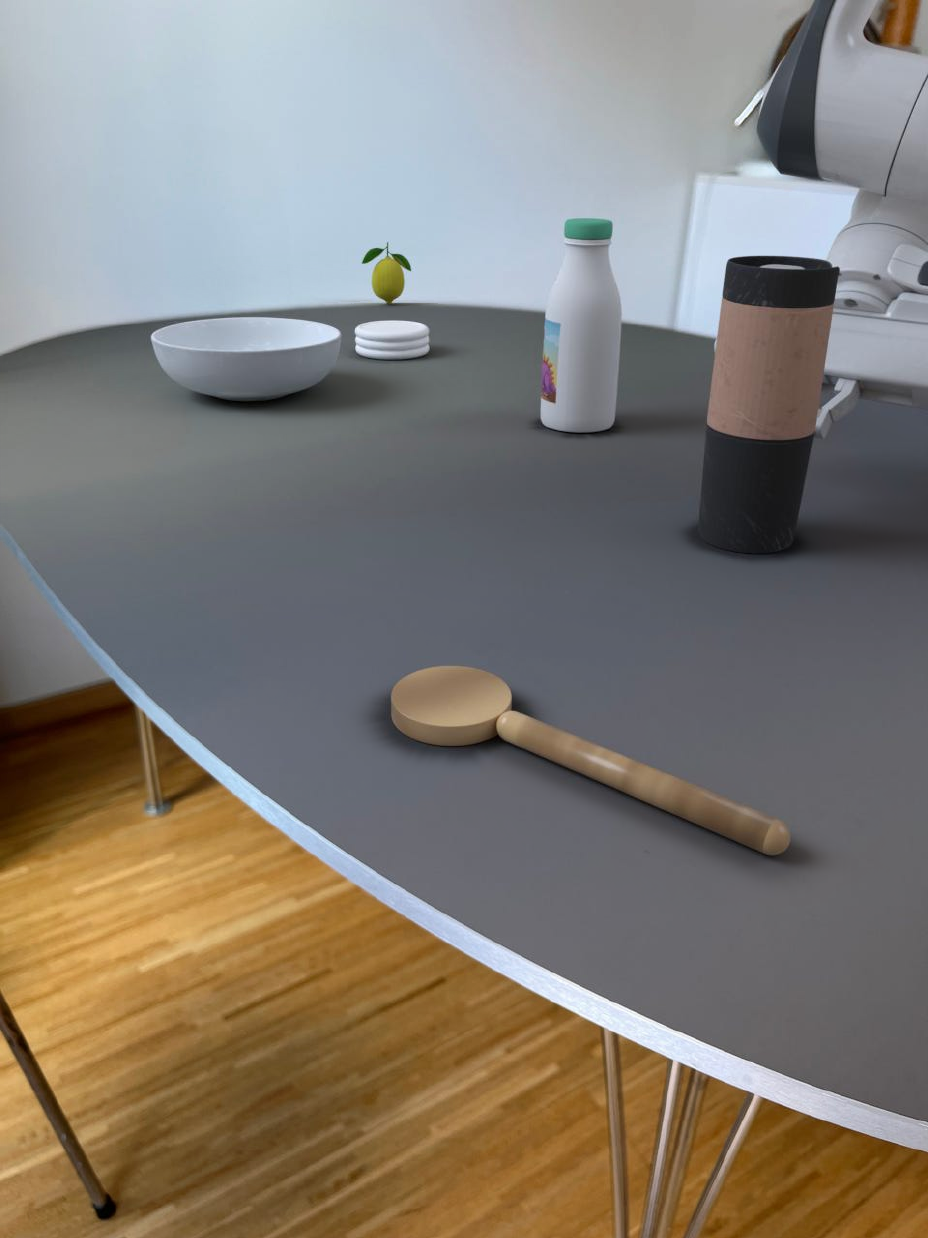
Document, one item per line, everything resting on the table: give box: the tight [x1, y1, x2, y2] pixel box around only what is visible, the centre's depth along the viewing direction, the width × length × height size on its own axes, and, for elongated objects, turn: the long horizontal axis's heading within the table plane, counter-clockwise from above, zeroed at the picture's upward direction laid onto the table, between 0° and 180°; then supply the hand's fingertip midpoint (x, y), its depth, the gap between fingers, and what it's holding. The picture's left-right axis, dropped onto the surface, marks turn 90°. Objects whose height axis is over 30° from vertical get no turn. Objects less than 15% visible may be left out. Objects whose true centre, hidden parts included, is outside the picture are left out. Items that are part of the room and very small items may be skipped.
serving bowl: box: [150, 316, 343, 402], centre depth 117 cm, size 21×21×7 cm
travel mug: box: [697, 255, 840, 554], centre depth 75 cm, size 8×8×20 cm
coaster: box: [354, 320, 430, 361], centre depth 139 cm, size 10×10×4 cm
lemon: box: [361, 241, 412, 305], centre depth 173 cm, size 7×6×10 cm
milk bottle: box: [540, 217, 623, 433], centre depth 103 cm, size 8×8×20 cm
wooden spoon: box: [390, 665, 792, 856], centre depth 50 cm, size 22×6×2 cm, turn 51°
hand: (804, 431), depth 82 cm, fingers closed
